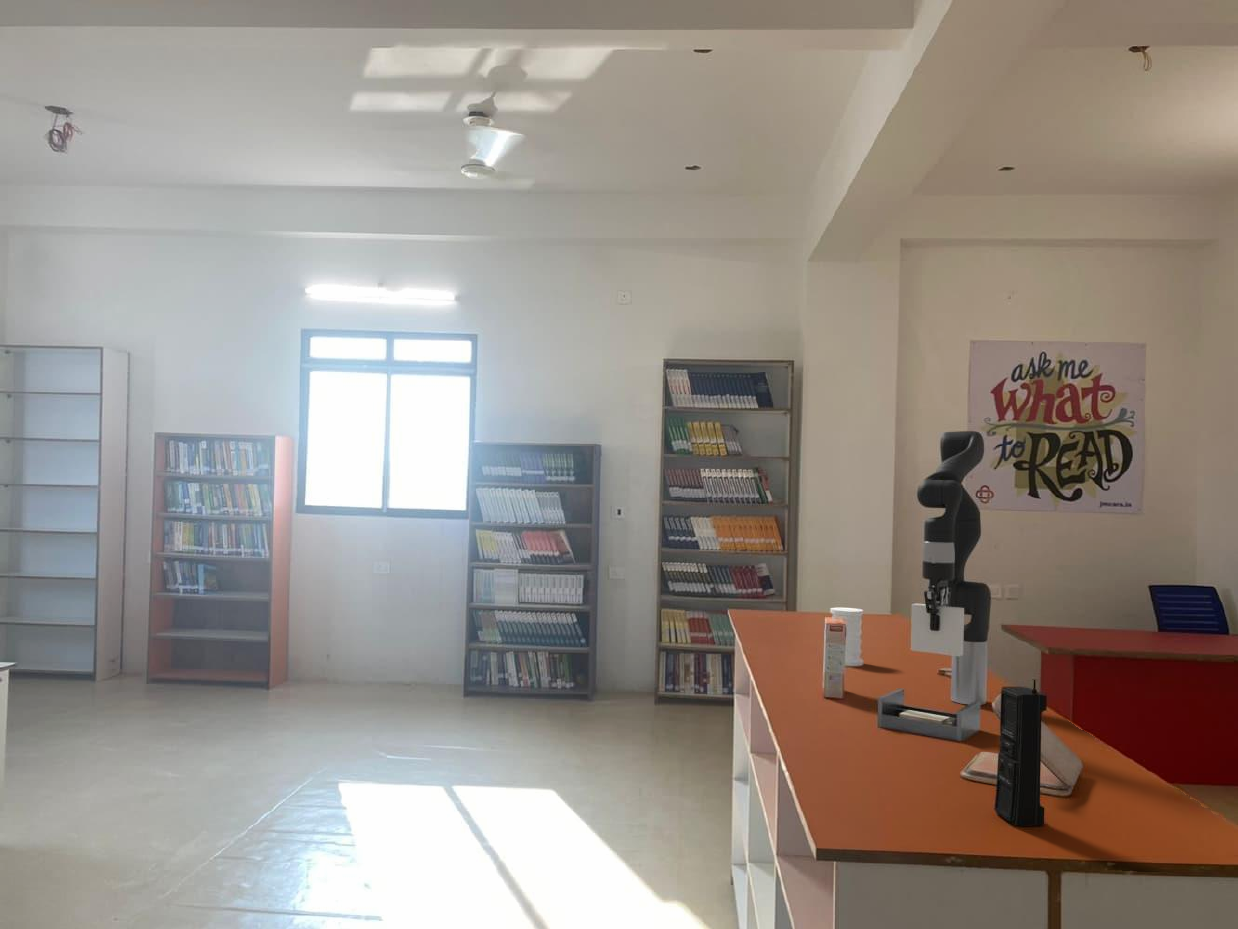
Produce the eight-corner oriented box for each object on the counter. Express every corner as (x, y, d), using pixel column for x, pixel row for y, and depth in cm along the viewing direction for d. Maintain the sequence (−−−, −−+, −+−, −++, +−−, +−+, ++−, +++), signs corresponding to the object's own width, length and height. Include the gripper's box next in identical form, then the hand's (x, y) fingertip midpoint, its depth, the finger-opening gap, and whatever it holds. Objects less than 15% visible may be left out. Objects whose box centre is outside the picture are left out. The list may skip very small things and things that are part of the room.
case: (1072, 801, 177) (1074, 715, 177) (956, 780, 188) (959, 699, 189) (1084, 776, 194) (1086, 698, 195) (977, 758, 205) (979, 684, 206)
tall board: (914, 648, 238) (915, 603, 238) (963, 655, 231) (964, 608, 231) (910, 650, 236) (911, 604, 236) (959, 656, 229) (960, 609, 229)
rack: (899, 716, 241) (900, 688, 241) (980, 730, 229) (980, 701, 229) (877, 726, 229) (878, 697, 229) (960, 741, 217) (961, 711, 217)
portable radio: (989, 811, 169) (992, 671, 170) (1021, 811, 169) (1024, 672, 170) (1011, 826, 161) (1014, 680, 162) (1045, 827, 162) (1048, 680, 162)
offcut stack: (907, 725, 233) (907, 709, 233) (952, 733, 226) (953, 717, 226) (898, 730, 228) (898, 713, 228) (944, 738, 221) (944, 721, 221)
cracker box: (845, 700, 259) (847, 623, 259) (822, 698, 260) (824, 622, 260) (843, 689, 272) (845, 617, 273) (822, 688, 274) (824, 616, 274)
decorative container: (867, 666, 311) (868, 612, 311) (832, 665, 311) (833, 611, 312) (858, 660, 322) (859, 607, 323) (824, 659, 323) (826, 606, 323)
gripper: (932, 558, 242) (931, 625, 241) (913, 560, 231) (912, 631, 230) (962, 560, 237) (961, 628, 237) (944, 562, 226) (943, 634, 226)
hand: (937, 629), depth 233 cm, fingers closed on tall board, 3 cm apart
